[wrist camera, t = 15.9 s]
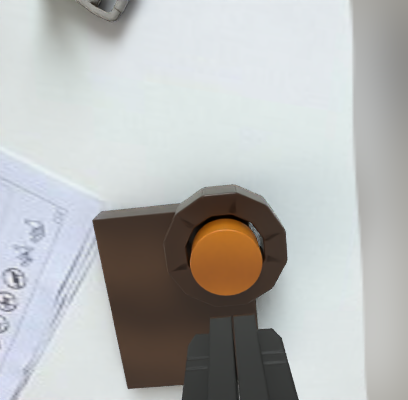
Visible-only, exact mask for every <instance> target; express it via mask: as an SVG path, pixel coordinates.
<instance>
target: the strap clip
mask: <svg viewBox="0 0 408 400" xmlns="http://www.w3.org/2000/svg"><path fill="white" fill-rule="evenodd" d="M76 1H77V2H78V3H80V4H81V5H82V6H84V7H85V8H86V9H88V10H89V11H90V12H92V13H93V14H95V15H96V16H98V17H101V18H103V19H105V20H107V21H109V22H115V21H117V20H118V19H119V17H120V16H121V14H122V13H123V11H124V9H125V7H126V5H127V3H128V1H129V0H117V1H116V3H115V5H114V7H113V9H112V11H111V12H106V11H104V10H102V9H100V8H98V6H99V4H100V2H101V0H76Z"/></svg>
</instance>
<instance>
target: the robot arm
mask: <svg viewBox="0 0 408 400" xmlns="http://www.w3.org/2000/svg"><path fill="white" fill-rule="evenodd" d="M233 321H234V333H235V345H234V336H233V326H232V318H231V316H223V317H211V318H210V332H209V333H208V334H195V336H194V337H193V339H192V340H191V342H190V343H189V345H188V350H187V360H186V368H185V369H186V371H185V377H184V385H183V394H182V400H239V396H240V400H299V399H298V396H297V392H296V389H295V385H294V381H293V378H292V374H291V370H290V367H289V363H288V360H287V356H286V353H285V349H284V345H283V341H282V338H281V337H280V336H279V335H278V334H277V333H276V332H275V331H274V330H273V329H272V328H270V329H258V330H257V325H256V320H255V314H246V315H234V316H233ZM235 346H236V354H235ZM236 359H237V364H236ZM237 371H238V375H237ZM238 384H239V388H238Z"/></svg>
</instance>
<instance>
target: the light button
mask: <svg viewBox="0 0 408 400" xmlns="http://www.w3.org/2000/svg"><path fill="white" fill-rule="evenodd" d="M262 264H263V263H262V254H261V251H260V248H259V245H258V241H257V238H256V236H255V234H254V233H253V231H252V230H251V229H250V228H249V227H248V226H247V225H245V224H244V223H242V222H240V221H237V220H234V219H228V218H223V219H217V220H213V221H211V222H209V223H207V224H205V225H204V226H203V227H202V228H201V229H200V230H199V231H198V232H197V234H196V236H195V238H194V240H193V244H192V250H191V257H190V268H191V272H192V275H193V277H194V278H195V280H196V281H197V283H198V284H199V285H200V286H201V287H203V288H204V289H205V290H207V291H209V292H211V293H214V294H217V295H224V296H229V295H235V294H239V293H241V292H244V291H245V290H247V289H248V288H250V287H251V286H252V285H253V284H254V283H255V282H256V281H257V279H258V277H259V275H260V273H261V270H262Z"/></svg>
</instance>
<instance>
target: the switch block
mask: <svg viewBox="0 0 408 400" xmlns="http://www.w3.org/2000/svg"><path fill="white" fill-rule="evenodd" d="M223 218H228V219H234V220H237V221H240V222H242V223H244V224H245V225H247V226H248V227H249V222H251V223H252V224H253V226H254V227H255V228H256V230H257V231H258V232H259V234H260V244H261V246H260V251H261V254H262V263H263V264H262V270H261V273H260V275H259V277H258V279H257V281H256V282H255V283H254V284H253V285H252V286H251V287H250V288H248V289H247V290H245V291H244V292H241V293H239V294H235V295H229V296H224V295H217V294H214V293H211V292H209V291H207V290H205V289H204V288H203V287H201V286H200V285H199V284H198V283H197V281H196V280H195V278H194V277H193V275H192V272H191V268H190V257H191V250H192V244H193V240H194V238H195V236H196V234H197V232H198V231H199V230H200V229H201V228H202V227H203V226H204V225H205V224H207V223H209V222H211V221H213V220H217V219H223ZM92 221H93V226H94V231H95V235H96V240H97V245H98V250H99V254H100V259H101V264H102V269H103V273H104V278H105V283H106V288H107V292H108V297H109V302H110V307H111V311H112V316H113V321H114V325H115V330H116V335H117V340H118V344H119V349H120V354H121V359H122V363H123V368H124V373H125V378H126V382H127V387H128V389H133V388H146V387H160V386H174V385H184V377H185V371H186V369H185V368H186V360H187V350H188V345H189V343H190V342H191V340H192V339H193V337H194V336H195V334H208V333H209V332H210V318H211V317H223V316H231V318H232V326H233V336H234V345H235V333H234V321H233V316H234V315H246V314H255V320H256V325H257V330H258V322H257V310H256V298H257V297H259V296H261V295H262V294H264V293H266V292H267V291H269V290H270V289H272V287H273V286H274V285H275V283H276V281H277V279H278V277H279V275H280V274H281V272H282V270H283V268H284V266H285V265H286V263H287V245H286V232H285V229H284V227H283V225H282V223H281V222H280V220H279V218H278V217H277V216H276V214H275V213H274V211H273V210H272V209H271V207H270V206H269V204H268V203H267V202H266V200H265V199H264V198H263V197H262V196H261V195H258V194H256V193H254V192H251V191H249V190H247V189H244V188H242V187H240V186H237V185H233V184H232V185H223V186H213V187H204V188H202V189H200V190H199V191H198V192H196V193H195V194H193V195H192V196H191V197H189V198H188V199H186V200H185V201H184V202H182V203H179V204H169V205H160V206H150V207H140V208H131V209H121V210H111V211H102V212H100V213H99V214H98V215H97V216H96V217H95V218H94V219H93V220H92ZM235 354H236V346H235ZM236 364H237V359H236ZM237 375H238V371H237Z"/></svg>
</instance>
